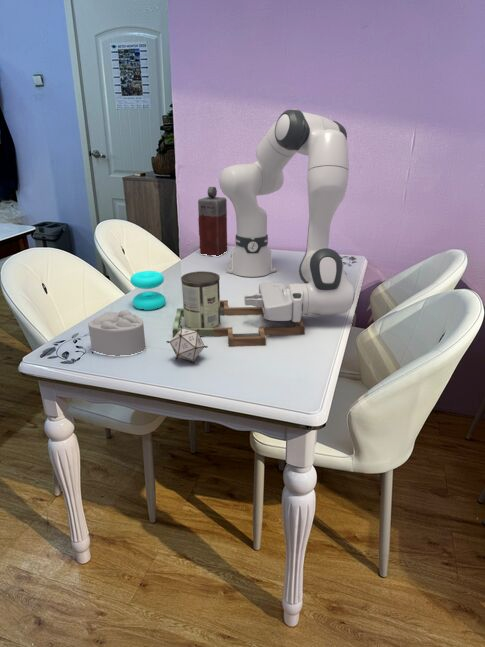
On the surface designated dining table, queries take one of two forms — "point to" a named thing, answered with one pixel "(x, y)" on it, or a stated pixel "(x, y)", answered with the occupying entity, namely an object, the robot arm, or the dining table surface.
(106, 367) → the dining table surface
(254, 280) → the dining table surface
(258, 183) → the robot arm
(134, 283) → the donuts
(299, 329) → the brown wooden frame
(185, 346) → the game die
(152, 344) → the dining table surface
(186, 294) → the coffee can
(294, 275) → the dining table surface
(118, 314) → the lumpy-topped squat cylinder
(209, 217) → the red grey square bottle
